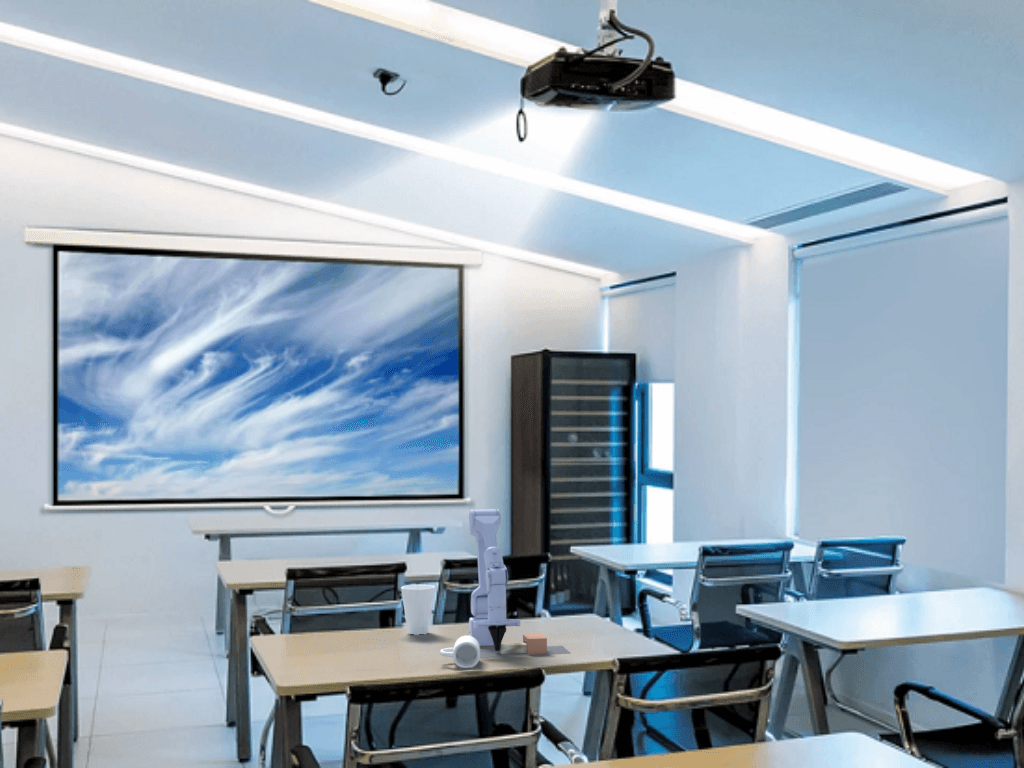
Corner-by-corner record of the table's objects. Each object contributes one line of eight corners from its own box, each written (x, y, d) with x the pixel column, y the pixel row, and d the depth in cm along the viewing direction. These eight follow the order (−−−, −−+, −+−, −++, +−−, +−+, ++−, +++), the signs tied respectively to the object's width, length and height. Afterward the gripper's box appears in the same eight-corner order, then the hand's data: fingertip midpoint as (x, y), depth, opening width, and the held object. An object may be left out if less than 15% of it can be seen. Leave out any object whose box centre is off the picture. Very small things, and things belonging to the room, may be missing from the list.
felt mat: (469, 659, 323) (469, 658, 323) (464, 651, 334) (464, 650, 334) (571, 654, 329) (571, 653, 329) (562, 646, 340) (562, 645, 340)
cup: (398, 631, 370) (397, 585, 370) (431, 629, 373) (430, 583, 374) (404, 637, 358) (404, 590, 359) (438, 635, 362) (438, 588, 363)
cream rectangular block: (501, 654, 328) (501, 645, 328) (500, 652, 331) (499, 644, 331) (539, 652, 330) (539, 643, 331) (538, 650, 333) (537, 642, 333)
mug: (480, 661, 320) (479, 635, 320) (480, 669, 310) (479, 641, 310) (440, 662, 320) (440, 635, 320) (439, 669, 310) (439, 642, 310)
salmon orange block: (528, 654, 327) (528, 639, 327) (523, 649, 335) (522, 634, 335) (547, 653, 328) (546, 638, 328) (541, 648, 336) (541, 633, 336)
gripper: (475, 609, 325) (476, 653, 324) (522, 607, 327) (522, 651, 327) (472, 605, 332) (472, 649, 331) (517, 603, 334) (518, 647, 334)
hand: (497, 650), depth 329 cm, fingers closed
